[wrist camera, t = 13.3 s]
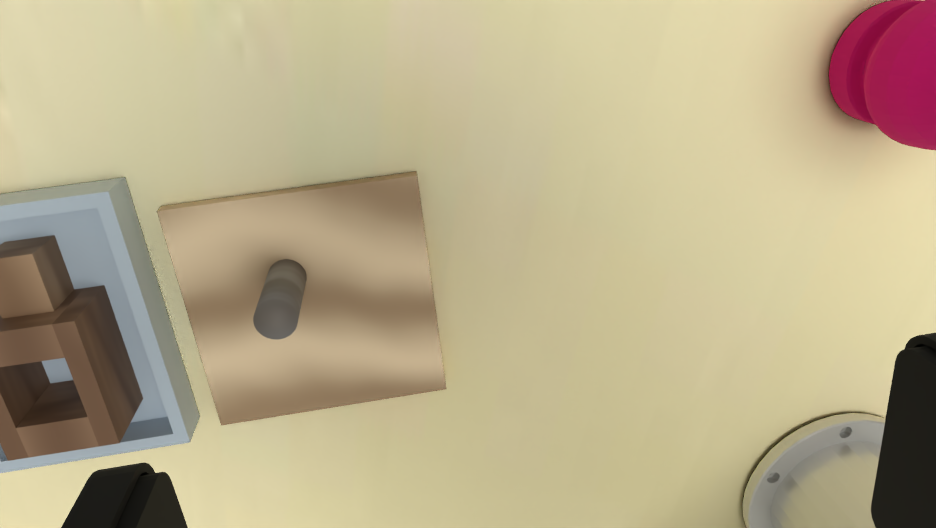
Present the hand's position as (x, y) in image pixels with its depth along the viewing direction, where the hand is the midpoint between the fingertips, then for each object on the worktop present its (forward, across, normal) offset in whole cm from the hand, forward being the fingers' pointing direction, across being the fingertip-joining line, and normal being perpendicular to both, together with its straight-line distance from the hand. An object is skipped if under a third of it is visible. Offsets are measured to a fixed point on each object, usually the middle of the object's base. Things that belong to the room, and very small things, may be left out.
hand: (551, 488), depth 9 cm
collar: (+28, +20, +9) cm, 35 cm away
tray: (+28, +20, +9) cm, 36 cm away
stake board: (+28, +7, +10) cm, 31 cm away
